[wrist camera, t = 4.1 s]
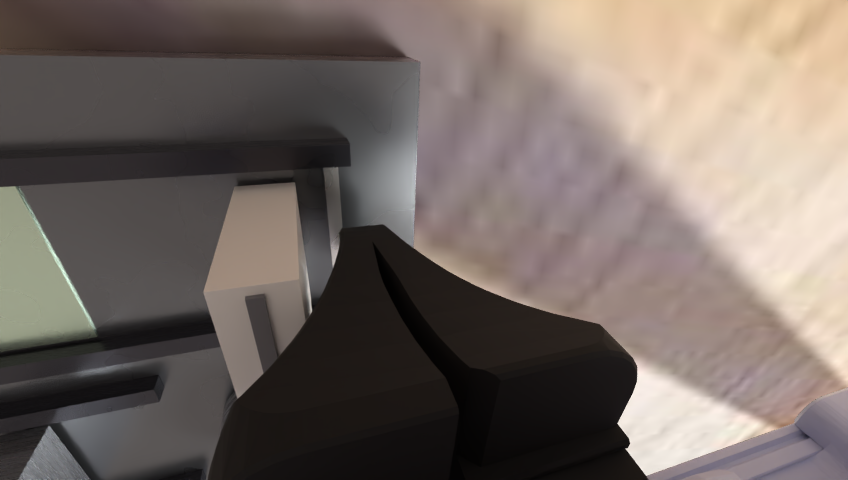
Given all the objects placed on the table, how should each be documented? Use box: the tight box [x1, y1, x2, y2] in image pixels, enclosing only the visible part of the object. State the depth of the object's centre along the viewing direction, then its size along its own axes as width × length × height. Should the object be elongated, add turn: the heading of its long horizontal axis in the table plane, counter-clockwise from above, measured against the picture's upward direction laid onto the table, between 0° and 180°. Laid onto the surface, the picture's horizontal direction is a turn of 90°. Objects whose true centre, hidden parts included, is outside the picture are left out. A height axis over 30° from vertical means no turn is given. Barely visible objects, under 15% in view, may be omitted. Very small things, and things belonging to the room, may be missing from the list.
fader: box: [203, 182, 312, 399], centre depth 9 cm, size 4×2×5 cm, turn 177°
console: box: [0, 49, 420, 480], centre depth 10 cm, size 16×16×6 cm
